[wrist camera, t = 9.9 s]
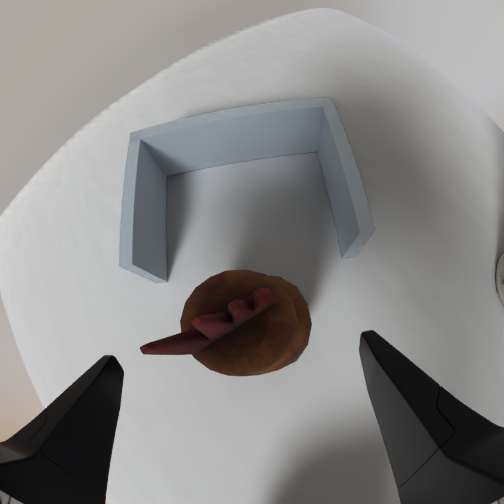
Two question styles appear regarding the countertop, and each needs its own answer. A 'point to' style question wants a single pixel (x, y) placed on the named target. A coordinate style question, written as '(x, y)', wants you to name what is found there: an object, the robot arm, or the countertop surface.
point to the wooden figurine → (241, 324)
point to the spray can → (500, 278)
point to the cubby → (232, 151)
